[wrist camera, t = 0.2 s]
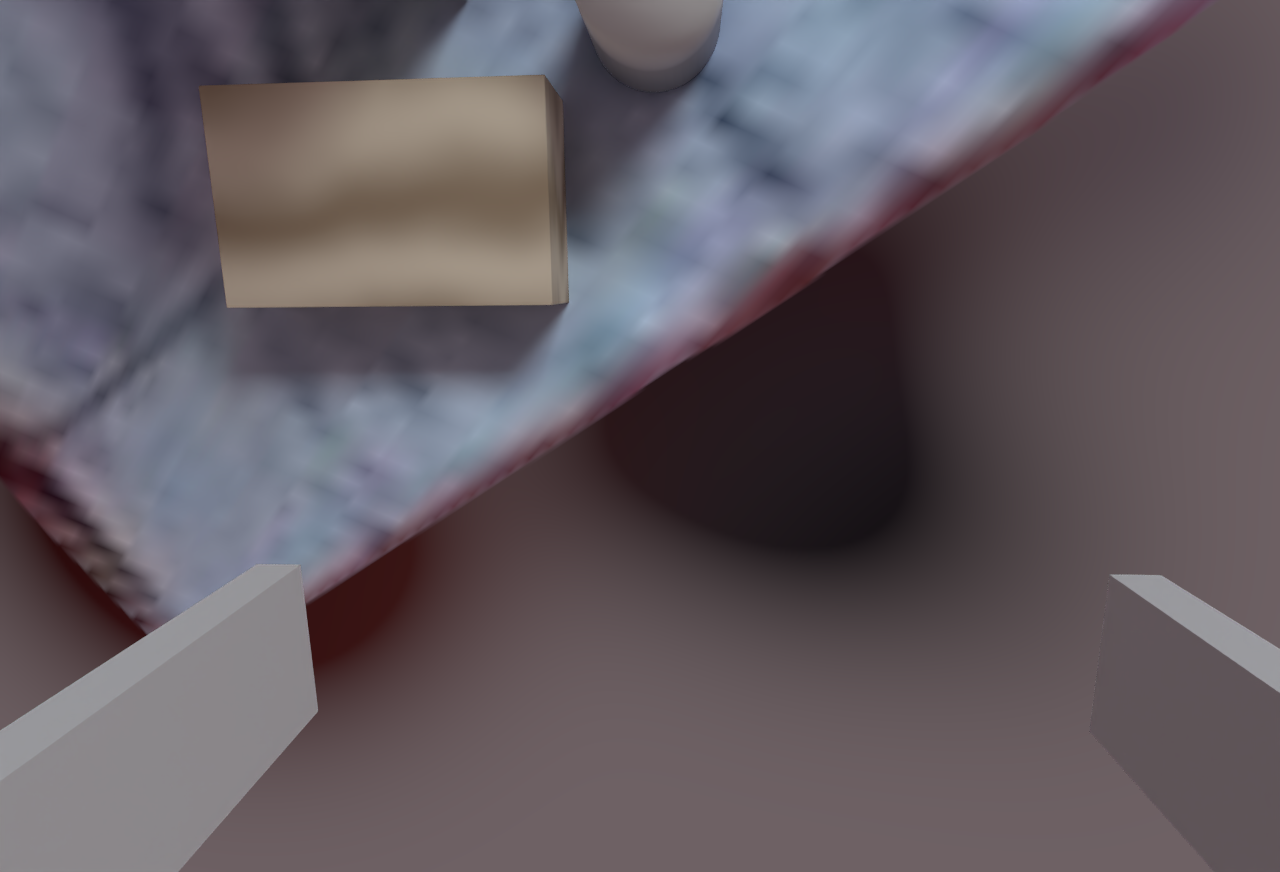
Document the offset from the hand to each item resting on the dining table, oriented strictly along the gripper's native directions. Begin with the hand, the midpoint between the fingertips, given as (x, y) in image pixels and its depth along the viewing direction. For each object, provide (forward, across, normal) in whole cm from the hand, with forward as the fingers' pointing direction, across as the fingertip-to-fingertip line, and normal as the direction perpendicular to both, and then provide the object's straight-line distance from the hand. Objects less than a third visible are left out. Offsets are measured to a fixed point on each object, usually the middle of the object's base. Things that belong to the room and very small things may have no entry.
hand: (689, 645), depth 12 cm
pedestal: (+28, -14, +10) cm, 33 cm away
